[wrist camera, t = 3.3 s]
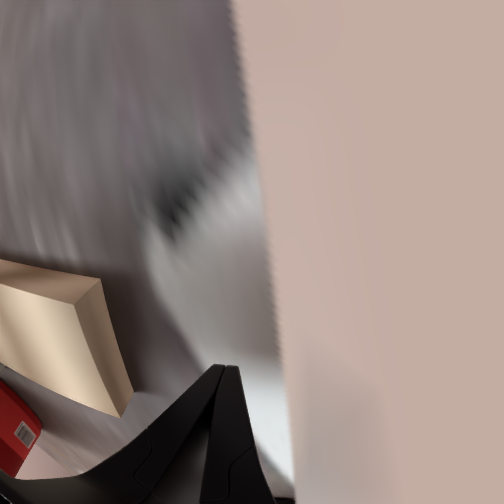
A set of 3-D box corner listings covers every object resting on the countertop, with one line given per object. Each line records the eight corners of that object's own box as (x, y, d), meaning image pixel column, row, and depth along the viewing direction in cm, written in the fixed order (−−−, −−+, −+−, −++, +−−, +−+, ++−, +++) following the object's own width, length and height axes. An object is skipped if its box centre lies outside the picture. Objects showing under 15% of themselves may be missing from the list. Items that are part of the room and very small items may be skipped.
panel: (106, 272, 10) (73, 304, 8) (137, 385, 13) (120, 418, 11) (-20, 250, 11) (-46, 267, 9) (13, 339, 14) (-5, 358, 12)
